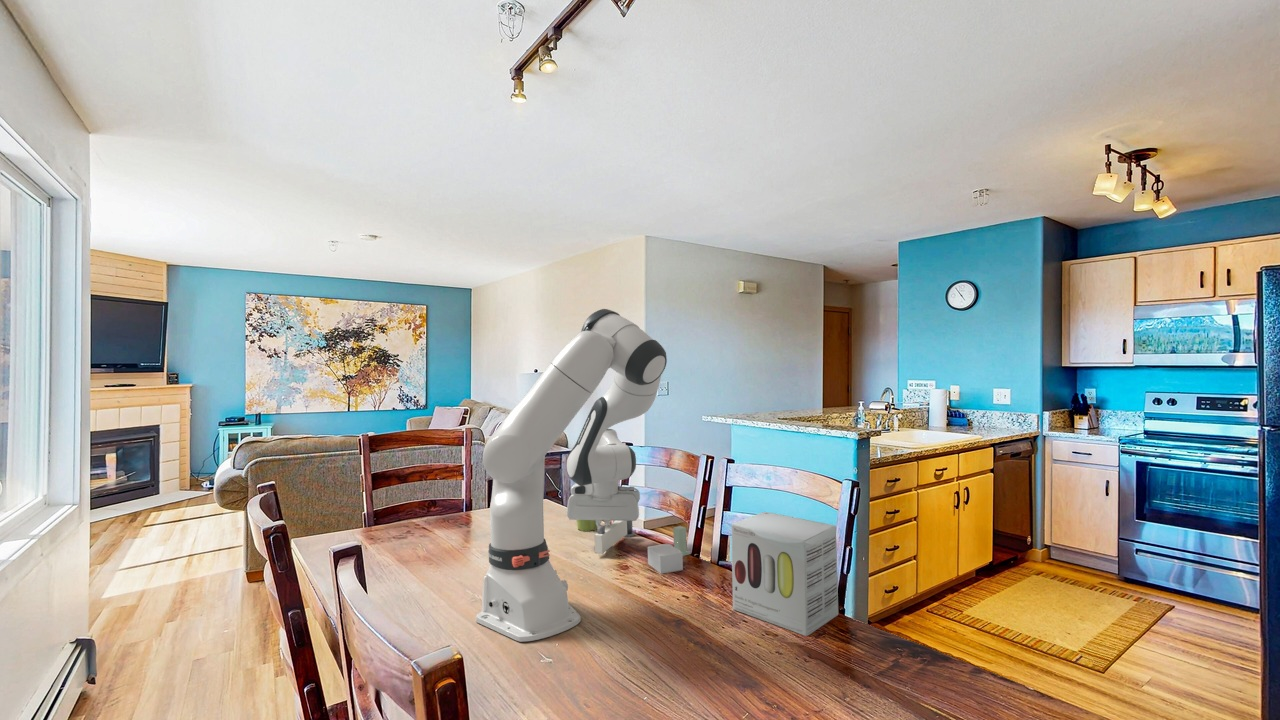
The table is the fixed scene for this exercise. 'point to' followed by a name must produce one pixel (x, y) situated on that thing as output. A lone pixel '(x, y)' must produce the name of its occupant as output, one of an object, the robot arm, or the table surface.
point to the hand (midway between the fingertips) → (603, 535)
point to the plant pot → (586, 525)
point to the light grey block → (665, 558)
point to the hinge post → (629, 530)
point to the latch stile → (680, 540)
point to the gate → (609, 535)
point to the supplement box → (785, 571)
